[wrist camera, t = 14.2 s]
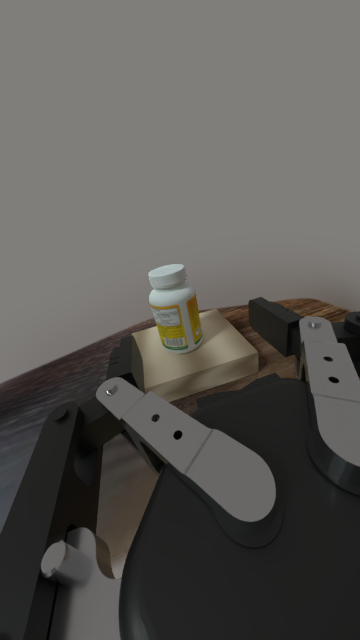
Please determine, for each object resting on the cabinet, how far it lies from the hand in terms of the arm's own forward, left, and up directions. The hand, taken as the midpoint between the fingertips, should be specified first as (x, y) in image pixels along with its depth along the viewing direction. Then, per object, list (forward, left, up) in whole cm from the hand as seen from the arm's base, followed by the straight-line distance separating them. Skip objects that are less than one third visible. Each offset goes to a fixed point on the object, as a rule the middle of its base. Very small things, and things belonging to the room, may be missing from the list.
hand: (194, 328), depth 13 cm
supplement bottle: (0, +10, -8) cm, 12 cm away
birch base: (0, +10, -11) cm, 14 cm away
